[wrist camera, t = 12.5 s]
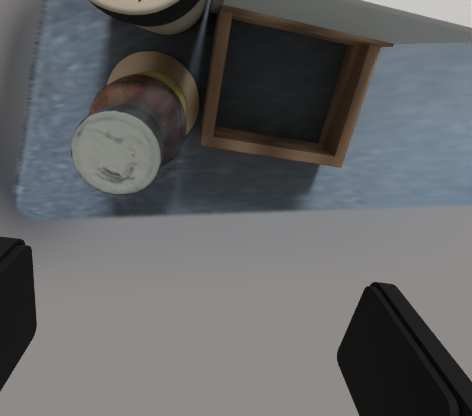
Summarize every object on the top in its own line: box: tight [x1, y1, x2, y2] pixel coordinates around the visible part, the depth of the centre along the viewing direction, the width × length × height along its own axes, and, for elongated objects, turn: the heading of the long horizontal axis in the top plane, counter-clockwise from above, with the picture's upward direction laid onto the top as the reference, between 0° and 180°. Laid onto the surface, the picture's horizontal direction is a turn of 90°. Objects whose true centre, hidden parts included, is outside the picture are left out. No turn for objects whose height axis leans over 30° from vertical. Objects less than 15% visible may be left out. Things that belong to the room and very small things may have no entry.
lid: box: [209, 0, 472, 44], centre depth 23 cm, size 15×1×20 cm, turn 79°
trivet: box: [107, 51, 199, 135], centre depth 33 cm, size 9×9×1 cm
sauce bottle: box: [71, 71, 187, 195], centre depth 24 cm, size 7×6×20 cm
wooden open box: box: [200, 3, 394, 168], centre depth 31 cm, size 14×12×7 cm
